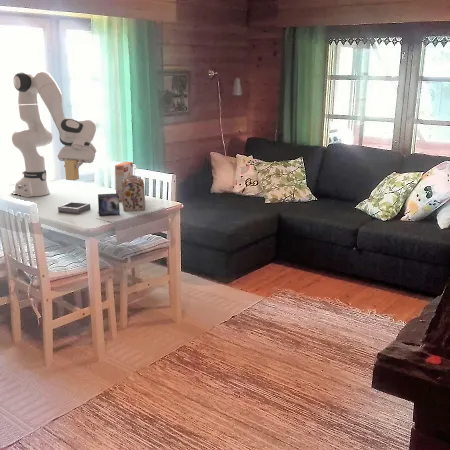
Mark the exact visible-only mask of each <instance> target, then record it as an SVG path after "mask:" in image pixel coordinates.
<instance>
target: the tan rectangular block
mask: <svg viewBox="0 0 450 450" xmlns="http://www.w3.org/2000/svg"><path fill="white" fill-rule="evenodd" d="M78 163H79V162H78V160H66V161H65V162H64V165H65V167H64V169H65V170H64V171H65V180H66V181H73V182H74V181H77V180H80V174H79V169H76V168H75V164H78Z"/></svg>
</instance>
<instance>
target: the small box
mask: <svg viewBox="0 0 450 450" xmlns="http://www.w3.org/2000/svg"><path fill="white" fill-rule="evenodd" d="M97 205H98V207H97V208H98V212H97V213H98V216H99V217H108V216H109V217H110V216H120V210H121V209H120V201H119V195H118V193H117V194H116V193H102V194H101V193H98V194H97Z"/></svg>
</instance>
